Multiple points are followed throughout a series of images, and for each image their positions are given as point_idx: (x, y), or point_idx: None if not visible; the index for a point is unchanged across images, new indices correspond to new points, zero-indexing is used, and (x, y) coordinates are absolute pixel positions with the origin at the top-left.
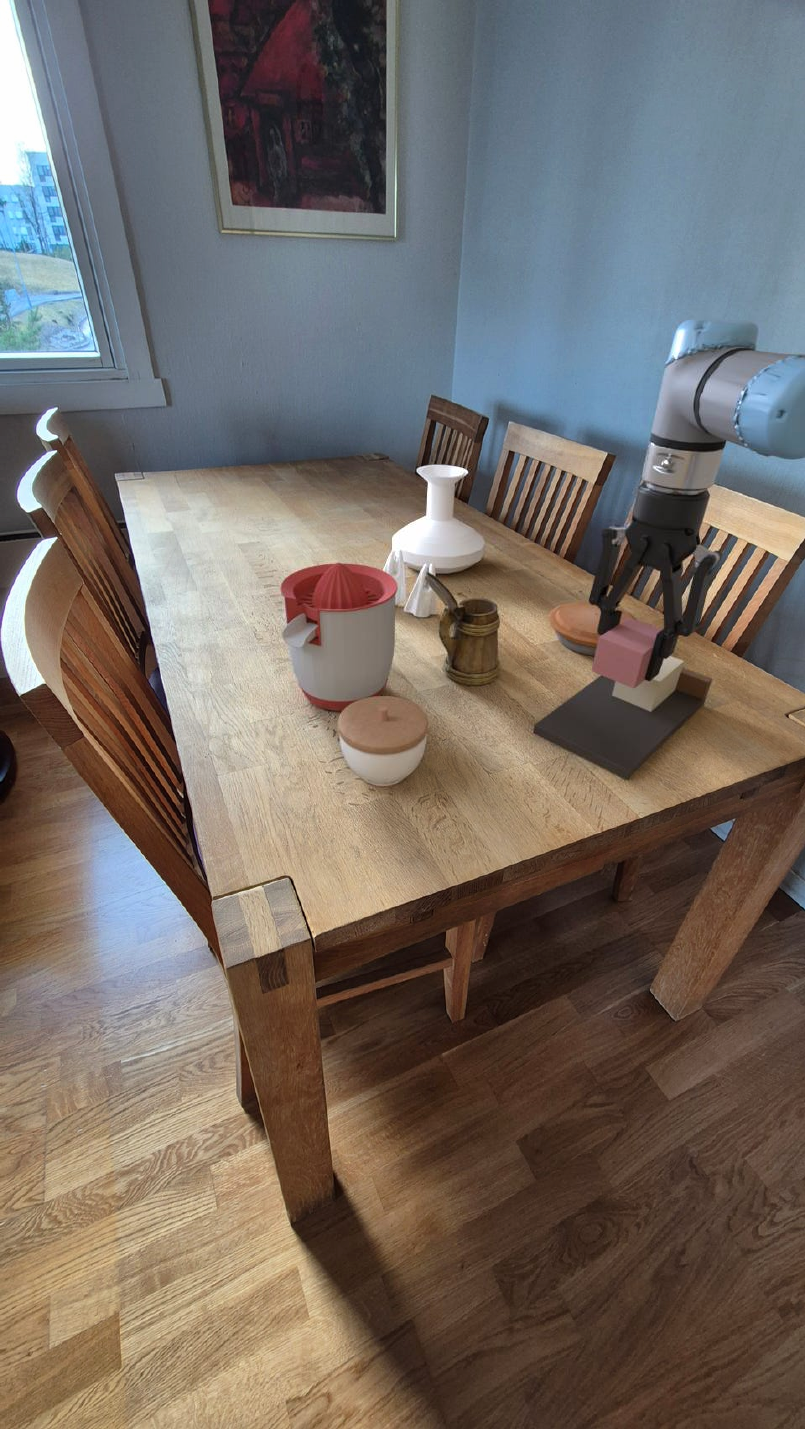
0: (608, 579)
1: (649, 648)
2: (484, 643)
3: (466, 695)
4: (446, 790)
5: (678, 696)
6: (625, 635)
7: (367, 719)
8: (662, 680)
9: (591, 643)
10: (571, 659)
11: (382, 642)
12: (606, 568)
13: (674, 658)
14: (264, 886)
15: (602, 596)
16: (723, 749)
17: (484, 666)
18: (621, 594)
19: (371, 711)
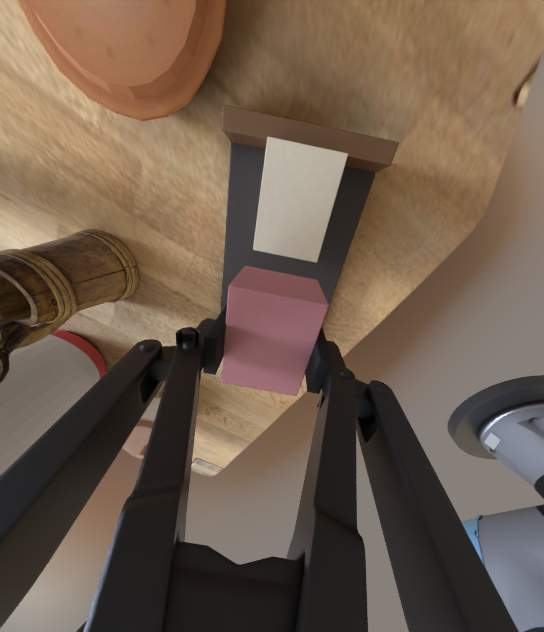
0: (127, 406)
1: (300, 379)
2: (87, 301)
3: (141, 310)
4: (212, 403)
5: (340, 186)
6: (253, 360)
7: (141, 450)
8: (319, 253)
9: (170, 114)
10: (166, 140)
11: (49, 416)
12: (98, 483)
13: (329, 154)
14: (194, 462)
15: (158, 373)
16: (394, 260)
17: (118, 290)
18: (196, 402)
19: (134, 444)
